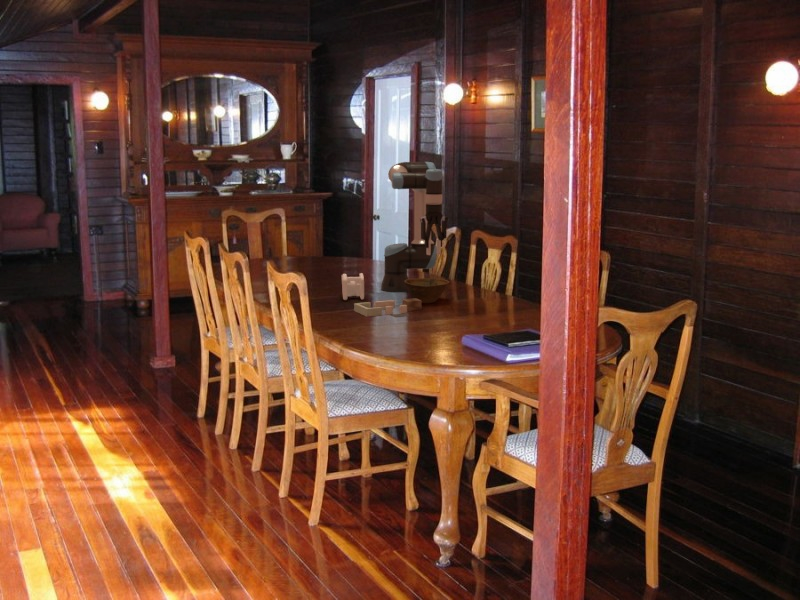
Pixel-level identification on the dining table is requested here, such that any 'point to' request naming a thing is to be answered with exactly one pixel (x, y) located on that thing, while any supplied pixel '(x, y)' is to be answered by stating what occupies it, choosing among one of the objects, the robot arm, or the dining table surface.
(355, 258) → the dining table surface
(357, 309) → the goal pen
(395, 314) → the mat
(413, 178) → the robot arm
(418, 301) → the block
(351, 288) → the cable organizer
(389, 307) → the channel
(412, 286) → the bowl
